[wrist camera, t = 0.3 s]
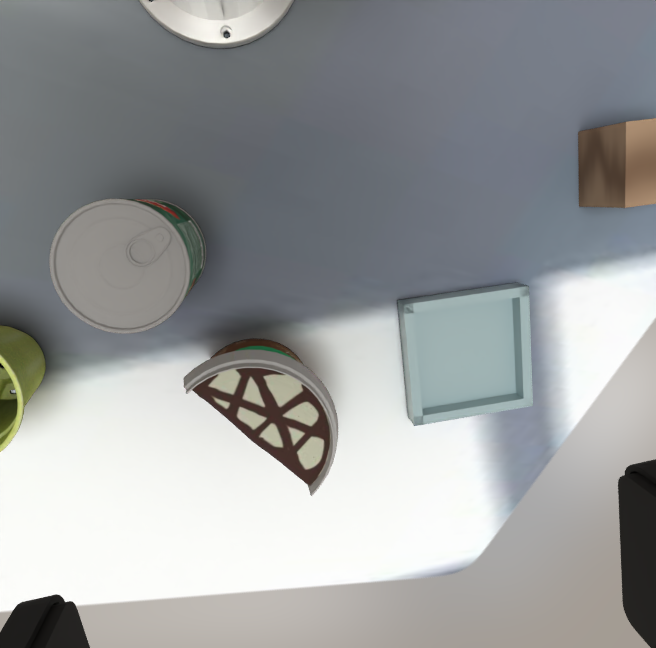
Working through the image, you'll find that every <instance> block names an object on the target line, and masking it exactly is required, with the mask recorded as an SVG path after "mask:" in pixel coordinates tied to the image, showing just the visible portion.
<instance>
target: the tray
mask: <svg viewBox="0 0 656 648" xmlns="http://www.w3.org/2000/svg"><path fill="white" fill-rule="evenodd" d="M397 304H398V315H399V325H400V336H401V347H402V357H403V368H404V379H405V389H406V400H407V411H408V417H409V419H410V420H411V422H412V423H413V425H414V426H417V425H423V424H429V423H435V422H441V421H447V420H453V419H458V418H464V417H470V416H476V415H482V414H488V413H494V412H499V411H505V410H511V409H517V408H523V407H529V406H533V397H532V368H531V338H530V308H529V286H527V285H524V284H521V283H511V284H504V285H497V286H490V287H484V288H477V289H470V290H463V291H457V292H450V293H443V294H436V295H430V296H423V297H416V298H409V299H402V300H397Z"/></svg>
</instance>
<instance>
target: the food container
mask: <svg viewBox="0 0 656 648" xmlns="http://www.w3.org/2000/svg"><path fill="white" fill-rule="evenodd" d="M184 388H186V389H187V391H186V394H188V393H189V392H190V391H191V390H193V391H194V392H195V393H197V395H198V396H199V397H201V398H202V399H204V400H205V401H207V402H208V403H209V404H211V405H212V406H213V407H214V408H215V409H217V410H218V411H219V412H220V413H221V414H222V415H224V416H225V417H226V418H227V419H228V420H229V421H231V422H232V423H233V424H234V425H235V426H236V427H237V428H238V429H239V430H241V431H242V432H243V433H244V434H245V435H246V436H247V437H248V438H249V439H251V440H252V441H253V442H254V443H255V444H257V445H258V446H259V447H261V448H262V449H264V450H265V451H266V452H268V453H269V454H270V455H272V456H273V457H274V458H276V459H277V460H278V461H279V462H281V463H282V464H283V465H284V466H286V467H287V468H288V469H289V470H291V471H292V472H293V473H294V474H295V475H297V476H298V477H299V478H300V479H302V480H303V481H304V482H305V483H306V484H308V487H309V490H310V494H311V496H312V495H313V494H314V493H315V492H316V491H317V489H318V488H319V487H320V485H321V484H322V482H323V481H324V479H325V478H326V476H327V475H328V473H329V470H330V468H331V466H332V463H333V460H334V456H335V452H336V447H337V439H338V420H337V413H336V410H335V406H334V403H333V400H332V398H331V396H330V394H329V392H328V390H327V389H326V387H325V386H324V384H323V383H322V381H321V380H320V379H319V378H318V377H317V376H316V375H315V374H314V373H313V372H312V371H311V370H309V369H308V368H307V367H305V366H304V365H303V364H302V362H301V361H300V359H299V358H298V357H297V356H296V355H295V354H294V353H293V352H292V351H291V350H290V349H288V348H287V347H285V346H283V345H281V344H280V343H277V342H274V341H271V340H266V339H246V340H241V341H238V342H234V343H232V344H230V345H228V346H226V347H224V348H223V349H221V350H220V351H218V352H217V353H216V354H215V355H214V356H213V357H212V358H211V359H209V360H207V361H205V362H204V363H202V364H201V365H199V366H198V367H196V368H194V369H193V370H192V371H191V372H190V373H189V374H187V375H186V376H185V377H184Z"/></svg>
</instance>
